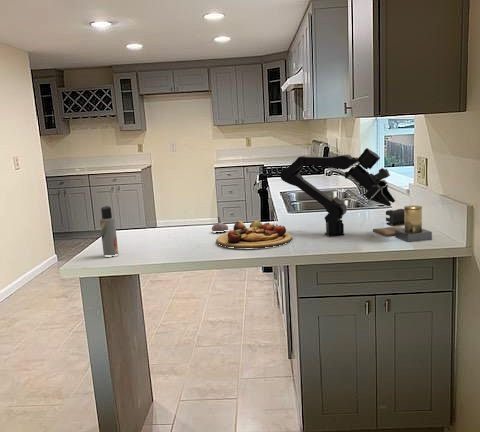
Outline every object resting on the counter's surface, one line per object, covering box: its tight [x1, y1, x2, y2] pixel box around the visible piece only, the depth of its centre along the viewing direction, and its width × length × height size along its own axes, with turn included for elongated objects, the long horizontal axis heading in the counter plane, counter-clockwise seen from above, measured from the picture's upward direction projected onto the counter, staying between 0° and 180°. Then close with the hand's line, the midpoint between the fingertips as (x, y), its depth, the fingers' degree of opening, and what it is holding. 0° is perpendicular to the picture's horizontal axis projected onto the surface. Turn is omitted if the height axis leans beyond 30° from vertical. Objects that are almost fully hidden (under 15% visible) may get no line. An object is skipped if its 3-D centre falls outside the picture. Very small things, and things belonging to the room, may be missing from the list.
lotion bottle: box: [99, 205, 119, 256], centre depth 196 cm, size 6×6×20 cm
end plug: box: [403, 205, 423, 233], centre depth 193 cm, size 7×7×12 cm
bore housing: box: [394, 228, 433, 243], centre depth 194 cm, size 10×10×3 cm
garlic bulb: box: [211, 215, 229, 232], centre depth 229 cm, size 8×7×8 cm
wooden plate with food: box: [216, 219, 293, 248], centre depth 207 cm, size 32×32×8 cm
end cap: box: [385, 208, 405, 226], centre depth 222 cm, size 10×7×7 cm
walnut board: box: [372, 225, 405, 238], centre depth 206 cm, size 12×12×1 cm
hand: (392, 203), depth 196 cm, fingers open, 9 cm apart
